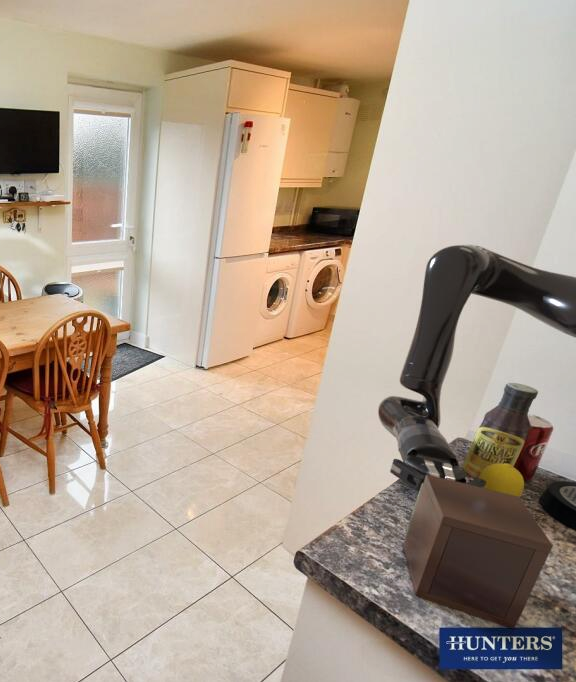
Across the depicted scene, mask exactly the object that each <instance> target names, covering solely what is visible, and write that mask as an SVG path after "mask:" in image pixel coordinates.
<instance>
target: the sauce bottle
mask: <svg viewBox="0 0 576 682" xmlns="http://www.w3.org/2000/svg"><path fill="white" fill-rule="evenodd" d="M538 394H539V391H538V390H537V389H536V388H534V387H532V386H529V385H527V384H523V383H517V382H507V383H506V384H505V386H504V388H503V394H502V397H501V399H500V401H499V403H498V405H497V406H495V407H493V408H491V409H490V410H489V411H487V412H486V413H485V414H484V416H483V420H482V422H481V423H480V425H479V426H478V429H477V431H476V433H475V435H474V438H473V441H472V442H471V445H470V448H469V450H468V452H467V455H466V457H465V459H464V461H463V463H462V468H461V470H463V471H464V472H465V473H466V477H468V478H472V479H476V478H479V476H480V474H481V472H482V471H483V470H484V469H485V468H486V467H487V466H489V465H492V464H497V463H501V464H505V463H507V464H510V465H511V466H512V467H513V466H514V464H515V462H516V460H517V458H518V456H519V454H520V452H521V450H522V447H523V445H524V443H525V439H526V437H527V435H528V433H529V430H530V428H531V424H530V422H529V419H528V416H527V413H529V412H530V408H531V405H532V403H533V401H534V400H535V399H536V398H537V396H538Z"/></svg>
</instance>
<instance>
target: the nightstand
mask: <svg viewBox="0 0 576 682" xmlns="http://www.w3.org/2000/svg"><path fill="white" fill-rule="evenodd" d="M553 546H554V545H553V543H552V542H551V540H550V539H549V538H548V536H547V535H546V533H545V532H544V530H543V529H542V527H541V526H540V525H539V523H538V522H537V520H536V519H535V518H534V516H533V515H532V513H531V512H530V510H529V509H528V508H527V506H526V504H525V503H524V502H523V500H522V499H521V496H520V497H519V496H514V495H510V494H506V493H502V492H498V491H494V490H490V489H485V488H481V487H477V486H473V485H469V484H465V483H460V482H456V481H452V480H448V479H444V478H440V477H436V476H431V475H427V474H426V477H425V480H424V483H423V486H422V490H421V493H420V496H419V499H418V502H417V505H416V508H415V511H414V514H413V517H412V520H411V523H410V526H409V529H408V532H407V535H406V534H405V539H404V542H403V545H402V549H403V552H404V557H405V561H406V564H407V568H408V572H409V577H410V580H411V584H412V588H413V592H414V595H415V597H418V598H421V599H423V600H427V601H431V602H433V603H436V604H439V605H442V606H445V607H448V608H451V609H454V610H457V611H460V612H462V613H465V614H468V615H472V616H473V617H477V618H480V619H483V620H485V621H489V622H492V623H495V624H498V625H501V626H503V627H506V628H508V629H509V628H510V629H512V630H514V629H515V628H516V626H517V623H518V622H519V619H520V618H521V616H522V613H523V611H524V609H525V608H526V605H527V603H528V600H529V599H530V596H531V594H532V591H533V589H534V588H535V585H536V583H537V581H538V579H539V577H540V574H541V573H542V570H543V568H544V566H545V563H546V561H547V560H548V557H549V556H550V553H551V551H552V548H553Z"/></svg>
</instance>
